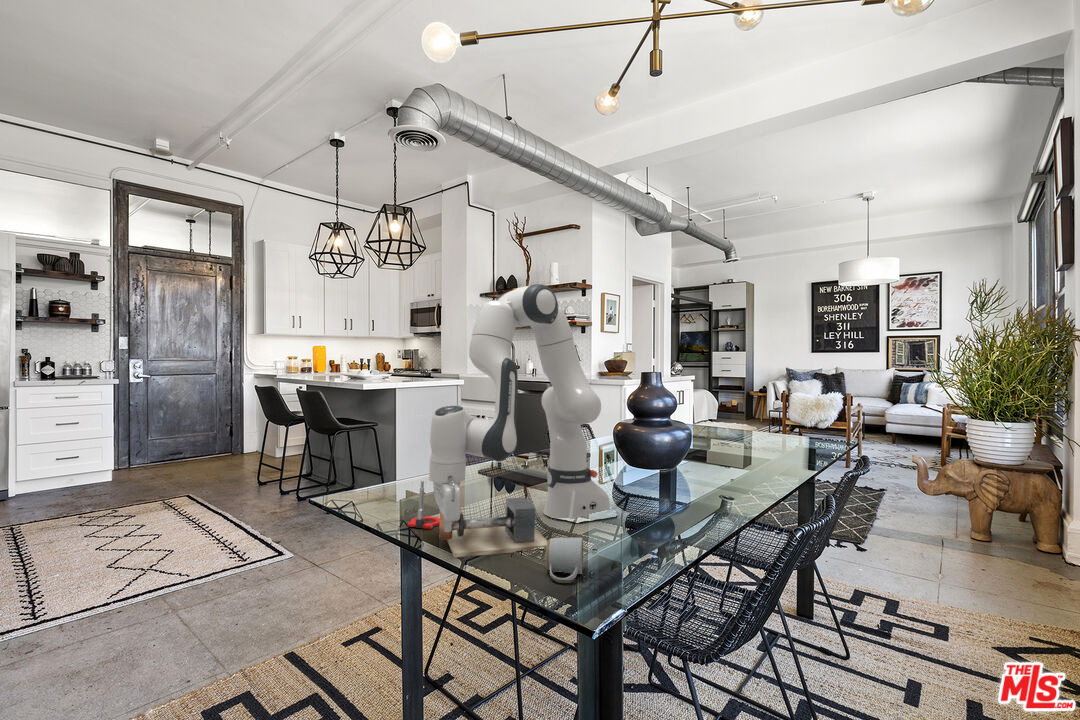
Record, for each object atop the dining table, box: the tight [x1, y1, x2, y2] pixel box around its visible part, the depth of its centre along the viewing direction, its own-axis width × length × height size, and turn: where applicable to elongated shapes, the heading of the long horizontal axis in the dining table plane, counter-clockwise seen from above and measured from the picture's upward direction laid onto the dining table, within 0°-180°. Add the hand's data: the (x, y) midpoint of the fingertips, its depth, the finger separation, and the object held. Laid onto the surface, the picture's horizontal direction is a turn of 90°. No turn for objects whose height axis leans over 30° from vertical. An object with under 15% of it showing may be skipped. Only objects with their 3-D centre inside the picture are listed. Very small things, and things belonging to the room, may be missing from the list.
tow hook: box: [407, 480, 440, 530], centre depth 148 cm, size 8×13×9 cm
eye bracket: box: [504, 497, 536, 543], centre depth 137 cm, size 5×10×8 cm, turn 18°
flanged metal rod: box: [438, 510, 514, 541], centre depth 134 cm, size 19×6×7 cm, turn 108°
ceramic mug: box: [545, 537, 584, 580], centre depth 116 cm, size 11×8×8 cm
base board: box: [446, 526, 548, 559], centre depth 135 cm, size 24×16×1 cm, turn 108°
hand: (446, 528), depth 131 cm, fingers closed on flanged metal rod, 3 cm apart
